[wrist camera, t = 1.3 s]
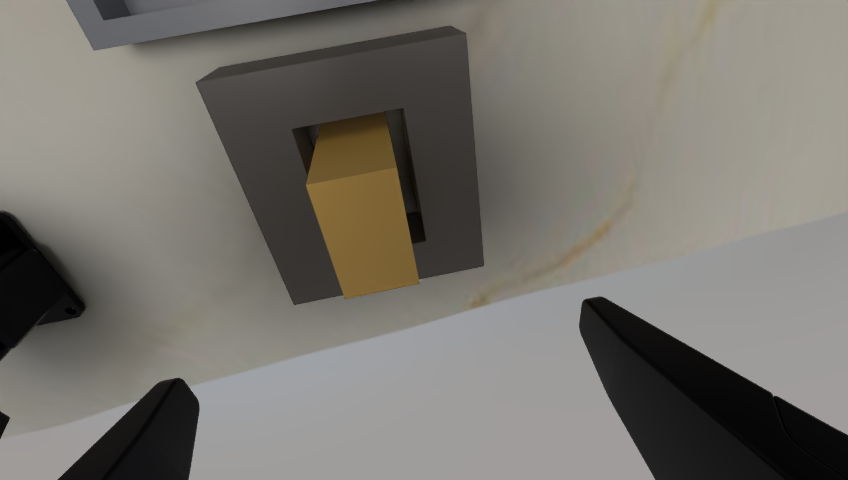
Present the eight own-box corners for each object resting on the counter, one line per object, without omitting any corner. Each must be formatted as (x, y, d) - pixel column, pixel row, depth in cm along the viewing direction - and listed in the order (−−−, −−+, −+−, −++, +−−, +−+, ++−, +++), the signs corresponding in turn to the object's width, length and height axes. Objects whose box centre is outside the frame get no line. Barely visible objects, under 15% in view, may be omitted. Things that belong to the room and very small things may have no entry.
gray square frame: (300, 269, 23) (294, 304, 21) (219, 67, 17) (195, 82, 14) (470, 235, 23) (483, 266, 21) (450, 25, 17) (465, 33, 15)
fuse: (347, 212, 22) (344, 299, 16) (321, 121, 19) (305, 185, 13) (402, 202, 22) (419, 283, 16) (384, 109, 19) (396, 167, 13)
